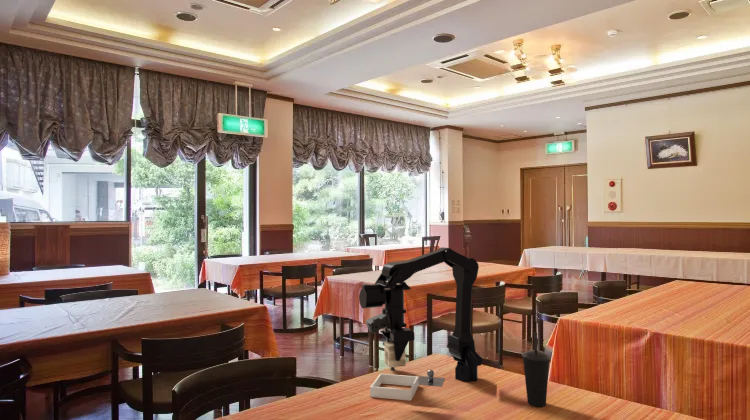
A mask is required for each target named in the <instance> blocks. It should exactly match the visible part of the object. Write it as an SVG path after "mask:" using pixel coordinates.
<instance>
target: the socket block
mask: <svg viewBox="0 0 750 420" xmlns="http://www.w3.org/2000/svg"><path fill="white" fill-rule="evenodd" d="M383 347H384V351H383V352H384V363H385V365H387V367H388V368H391V367H394V368H397V367H406V364H407V362H406V349H405V350H404V352H403V354H402V357H401V359H400V361H396V359H395V353H394V346H393V343H392V342H386V341H384V345H383Z"/></svg>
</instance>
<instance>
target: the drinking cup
mask: <svg viewBox="0 0 750 420" xmlns="http://www.w3.org/2000/svg"><path fill="white" fill-rule="evenodd" d="M533 334H534V349H533V350H532V349H531V350H527V351H525V352H522V353H521V358H522V360H523V371H524V380H525V389H526V390H525V391H526V401H527V404H528V405H529V406H531V407H533V406H534V407H533V408H544V407H546V406H545V405H547V395H548V384H549V383H548V381H549V380H548V379H549V371H550V369H549V367H550V366H549V365H550V360H551V357H552V356H551V355H550V354H549V353H546V352H545V351H542V350H540V349H539V350H538V332H536V331H535V332H533ZM543 406H544V407H543Z"/></svg>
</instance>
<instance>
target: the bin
mask: <svg viewBox="0 0 750 420" xmlns="http://www.w3.org/2000/svg"><path fill="white" fill-rule="evenodd" d="M418 379H419V376H418V375H415V376H414V375H403V374H392V373H390V374H389V373H379V375H378V376H377V377H376V379H375V380H374V381H373V382H372V383H371V384H370V386H369V398H379V399H389V400H390V399H392V400H400V401H412V400H413V398H414V396H415V394H416V392H417V390H418V389H419V386H420V385H419V383H418ZM381 384H382V385H383V384H386V385H396V386H397V385H398V386H408V387H410V389H408V388H407V389H406V388H394V387H383V386H381Z"/></svg>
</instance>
